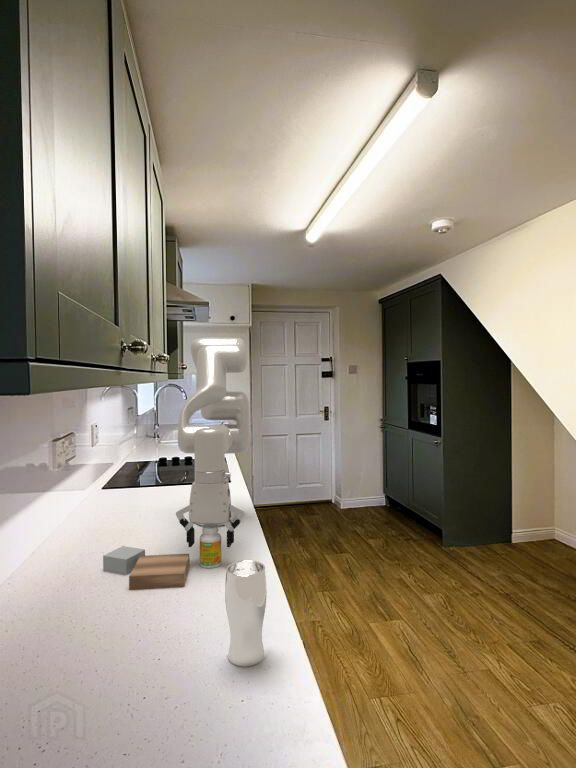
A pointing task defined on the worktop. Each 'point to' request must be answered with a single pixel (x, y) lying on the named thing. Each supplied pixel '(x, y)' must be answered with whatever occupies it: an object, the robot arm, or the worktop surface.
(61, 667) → the worktop surface
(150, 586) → the walnut block
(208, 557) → the supplement bottle
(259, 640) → the beer glass
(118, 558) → the slate block
